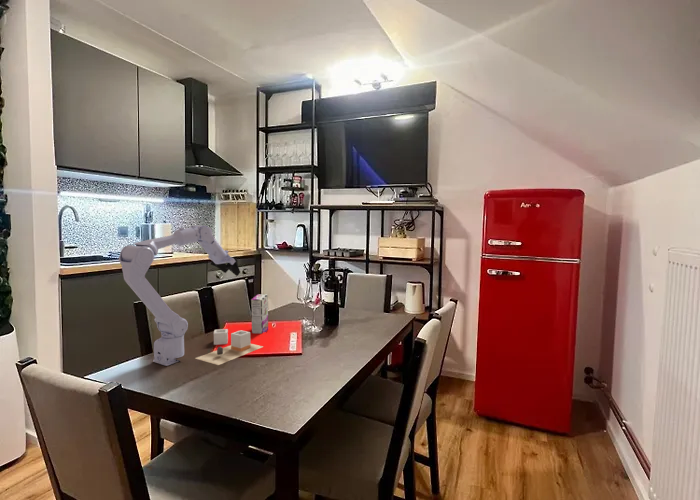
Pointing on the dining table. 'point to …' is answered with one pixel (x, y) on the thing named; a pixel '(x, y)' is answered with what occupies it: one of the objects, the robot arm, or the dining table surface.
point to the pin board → (226, 354)
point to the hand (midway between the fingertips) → (232, 272)
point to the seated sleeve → (240, 340)
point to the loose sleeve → (221, 336)
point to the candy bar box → (259, 313)
